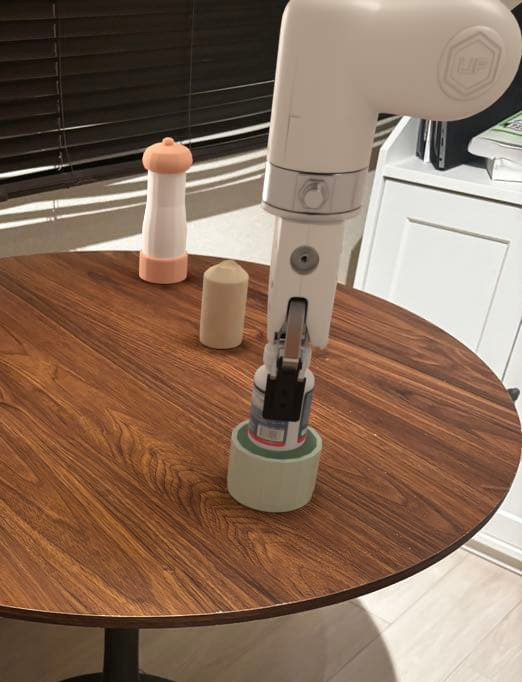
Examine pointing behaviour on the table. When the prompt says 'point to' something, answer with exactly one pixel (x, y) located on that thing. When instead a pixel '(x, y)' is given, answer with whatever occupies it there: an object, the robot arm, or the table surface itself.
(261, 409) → the pill bottle
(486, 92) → the robot arm
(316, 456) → the cup
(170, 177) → the pepper shaker
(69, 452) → the table surface
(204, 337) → the candle
